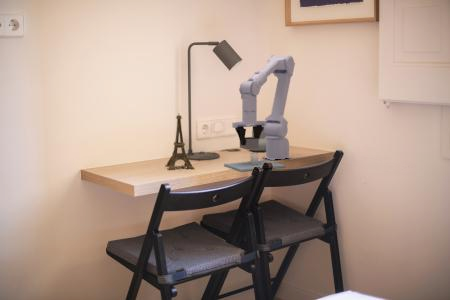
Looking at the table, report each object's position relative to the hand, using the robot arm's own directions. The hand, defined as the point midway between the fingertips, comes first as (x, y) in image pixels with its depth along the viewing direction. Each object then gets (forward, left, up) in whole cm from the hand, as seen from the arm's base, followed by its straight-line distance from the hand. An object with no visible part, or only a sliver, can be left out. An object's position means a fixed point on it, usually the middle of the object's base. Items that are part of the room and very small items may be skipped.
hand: (249, 144), depth 273 cm
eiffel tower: (+27, -9, -9) cm, 30 cm away
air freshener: (-22, -30, -9) cm, 38 cm away
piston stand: (0, +4, -8) cm, 9 cm away
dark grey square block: (0, 0, -1) cm, 1 cm away
